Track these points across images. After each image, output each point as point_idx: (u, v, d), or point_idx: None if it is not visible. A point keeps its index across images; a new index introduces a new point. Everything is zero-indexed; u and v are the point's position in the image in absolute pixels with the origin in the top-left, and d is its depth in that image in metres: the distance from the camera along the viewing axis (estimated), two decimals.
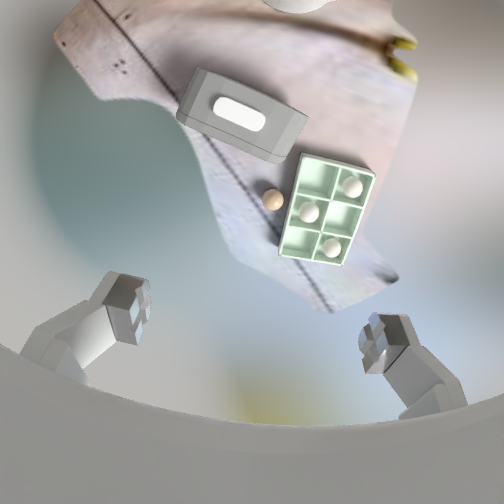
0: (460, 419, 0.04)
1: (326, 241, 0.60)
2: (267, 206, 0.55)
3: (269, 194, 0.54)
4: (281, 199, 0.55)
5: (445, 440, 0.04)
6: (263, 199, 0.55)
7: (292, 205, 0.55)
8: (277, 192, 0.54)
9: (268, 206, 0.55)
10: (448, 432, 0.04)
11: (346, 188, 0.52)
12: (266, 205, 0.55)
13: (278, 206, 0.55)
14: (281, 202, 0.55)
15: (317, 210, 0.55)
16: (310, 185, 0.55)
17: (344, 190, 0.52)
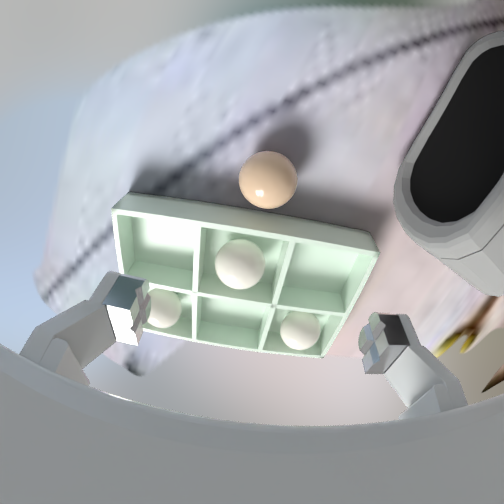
0: (460, 419, 0.04)
1: (173, 299, 0.27)
2: (257, 173, 0.18)
3: (291, 177, 0.19)
4: (276, 206, 0.20)
5: (445, 440, 0.04)
6: (274, 159, 0.19)
7: (259, 233, 0.22)
8: (293, 194, 0.20)
9: (259, 176, 0.18)
10: (448, 432, 0.04)
11: (304, 330, 0.27)
12: (259, 169, 0.18)
13: (257, 202, 0.20)
14: (267, 207, 0.20)
15: None
16: (296, 253, 0.26)
17: (297, 325, 0.27)
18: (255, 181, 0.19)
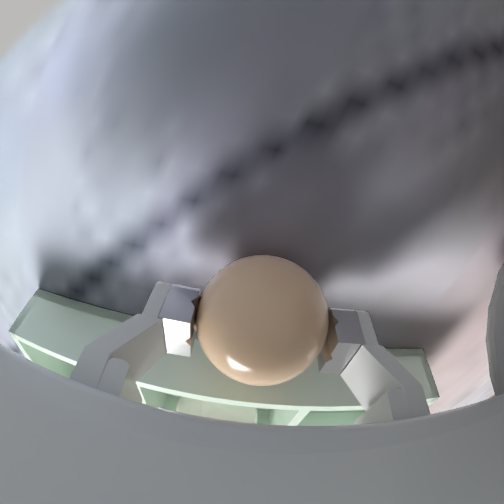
0: (460, 419, 0.04)
1: None
2: (233, 341, 0.07)
3: (319, 339, 0.08)
4: None
5: (445, 440, 0.04)
6: (279, 301, 0.07)
7: (245, 404, 0.10)
8: None
9: (239, 350, 0.07)
10: (448, 432, 0.04)
11: None
12: (240, 333, 0.07)
13: None
14: None
15: None
16: None
17: None
18: (230, 358, 0.07)
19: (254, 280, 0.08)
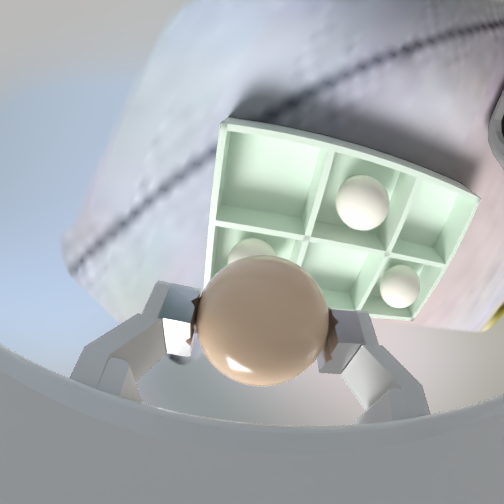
0: (460, 419, 0.04)
1: (271, 250, 0.23)
2: (233, 342, 0.07)
3: (319, 339, 0.08)
4: None
5: (445, 440, 0.04)
6: (279, 301, 0.07)
7: (392, 165, 0.18)
8: None
9: (239, 351, 0.07)
10: (448, 432, 0.04)
11: (411, 282, 0.23)
12: (240, 334, 0.07)
13: None
14: None
15: (373, 227, 0.20)
16: None
17: (404, 278, 0.23)
18: (230, 359, 0.07)
19: (254, 280, 0.08)
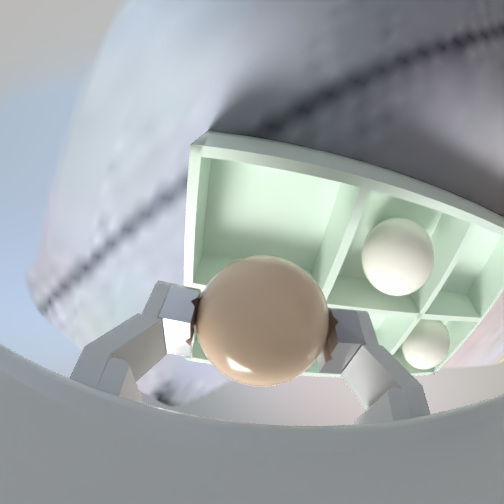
0: (460, 419, 0.04)
1: None
2: (233, 342, 0.07)
3: (319, 339, 0.08)
4: None
5: (445, 440, 0.04)
6: (279, 301, 0.07)
7: (445, 208, 0.11)
8: None
9: (239, 351, 0.07)
10: (448, 432, 0.04)
11: (441, 343, 0.16)
12: (240, 334, 0.07)
13: None
14: None
15: None
16: None
17: (434, 338, 0.17)
18: (230, 359, 0.07)
19: (254, 280, 0.08)
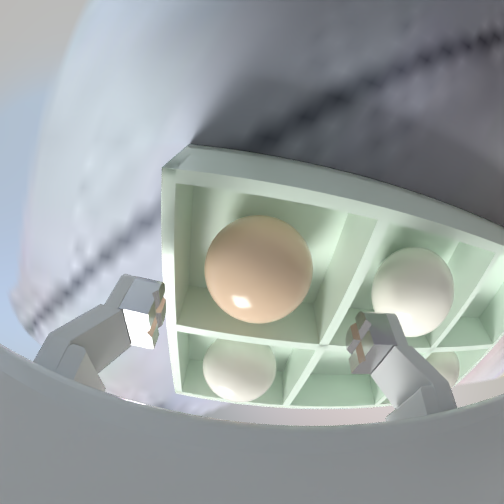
0: (460, 419, 0.04)
1: (267, 355, 0.15)
2: (228, 271, 0.09)
3: (299, 280, 0.10)
4: None
5: (445, 440, 0.04)
6: (266, 242, 0.09)
7: (471, 239, 0.09)
8: None
9: (232, 278, 0.09)
10: (448, 432, 0.04)
11: (451, 374, 0.14)
12: (234, 264, 0.09)
13: (233, 316, 0.11)
14: None
15: None
16: None
17: (444, 369, 0.14)
18: (225, 286, 0.10)
19: (250, 227, 0.10)
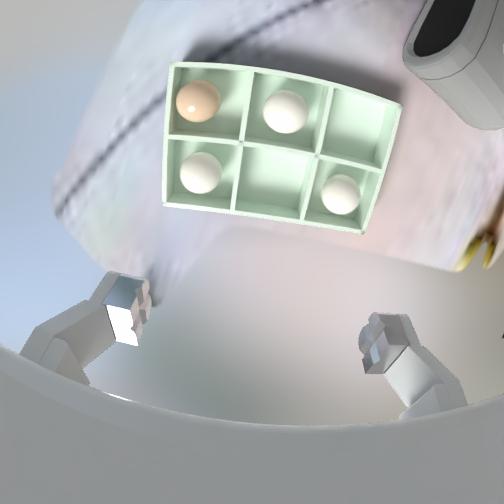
0: (460, 419, 0.04)
1: (215, 158, 0.27)
2: (180, 91, 0.22)
3: (203, 92, 0.21)
4: (196, 117, 0.23)
5: (445, 440, 0.04)
6: (195, 81, 0.22)
7: (304, 77, 0.21)
8: (210, 108, 0.23)
9: (180, 92, 0.22)
10: (448, 432, 0.04)
11: (347, 184, 0.26)
12: (182, 88, 0.22)
13: (181, 113, 0.23)
14: (190, 118, 0.23)
15: (296, 129, 0.24)
16: (331, 114, 0.26)
17: (340, 180, 0.27)
18: (178, 96, 0.22)
19: (193, 80, 0.22)
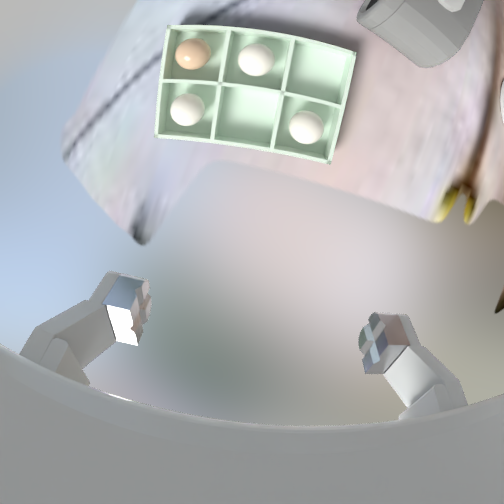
0: (460, 419, 0.04)
1: (199, 97, 0.30)
2: (181, 45, 0.25)
3: (201, 46, 0.25)
4: (193, 64, 0.26)
5: (445, 440, 0.04)
6: (192, 38, 0.25)
7: (270, 33, 0.24)
8: (205, 57, 0.26)
9: (181, 46, 0.25)
10: (448, 432, 0.04)
11: (309, 115, 0.29)
12: (182, 43, 0.25)
13: (181, 61, 0.26)
14: (188, 65, 0.26)
15: (264, 71, 0.27)
16: (297, 64, 0.29)
17: (303, 113, 0.30)
18: (179, 49, 0.25)
19: None
